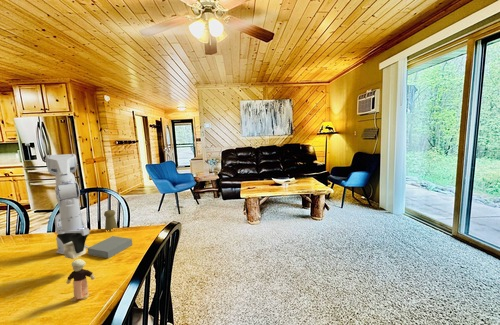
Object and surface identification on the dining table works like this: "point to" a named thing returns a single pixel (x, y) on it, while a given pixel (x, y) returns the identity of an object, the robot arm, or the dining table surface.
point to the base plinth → (109, 247)
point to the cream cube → (72, 251)
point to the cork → (110, 220)
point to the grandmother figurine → (79, 280)
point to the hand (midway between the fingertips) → (75, 251)
